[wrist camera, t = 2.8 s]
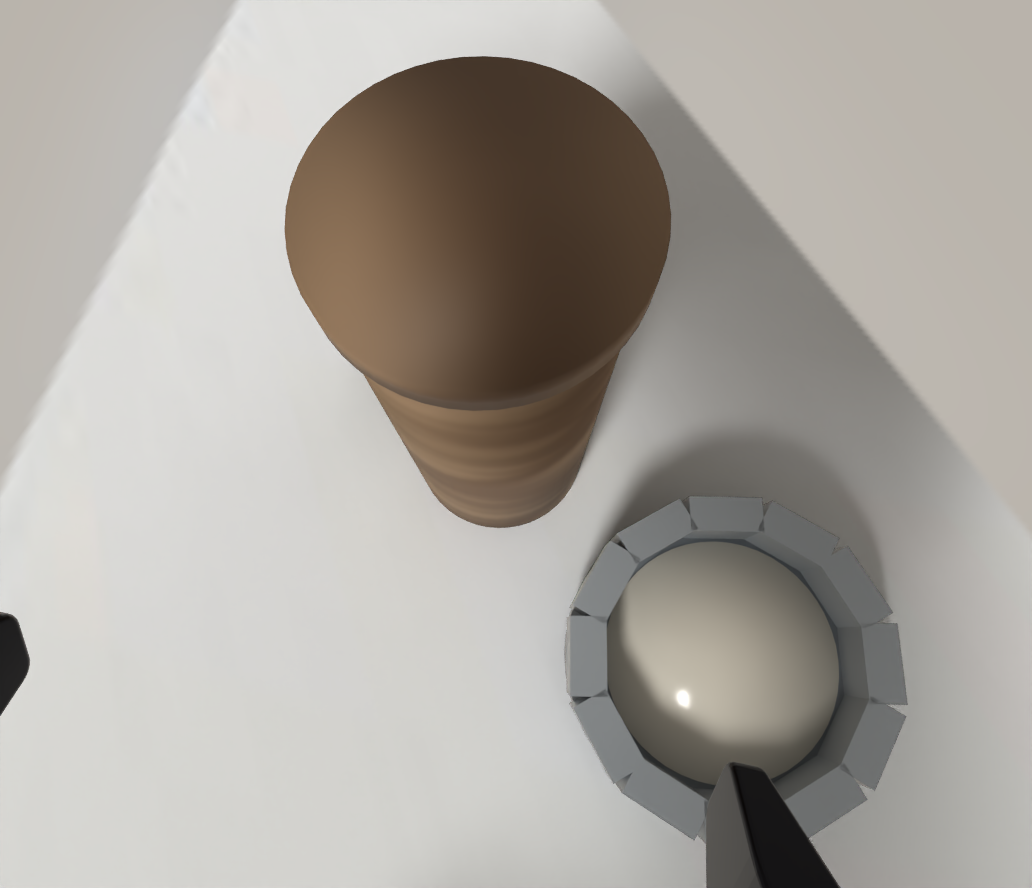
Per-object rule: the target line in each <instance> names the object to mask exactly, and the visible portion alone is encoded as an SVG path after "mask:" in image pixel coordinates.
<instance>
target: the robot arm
mask: <svg viewBox="0 0 1032 888" xmlns="http://www.w3.org/2000/svg"><path fill="white" fill-rule="evenodd" d="M29 666H30V658H29V654H28V651H27V648H26V645H25V641H24V638H23V635H22V632H21V628H20V625H19V622H18V620H17V619H16V618H15V617H14V616H13V615H11V614H8V613H3V612H0V716H1V714H2V713H3V711H4V710H5V708H6V706H7V705H8V703H9V702H10V700H11V699H12V697H13V696H14V694H15V693H16V691H17V690H18V688H19V687H20V685H21V684H22V682H23V681H24V679H25V677H26V675H27V673H28V670H29ZM706 879H707V888H840V886H839V885H838V883H837V882H836V880H835V879H834V877H833V876H832V874H831V872H830V871H829V869H828V868H827V866H826V865H825V863H824V862H823V860H822V858H821V857H820V855H819V854H818V852H817V851H816V849H815V848H814V846H813V844H812V843H811V841H810V840H809V838H808V837H807V835H806V834H805V832H804V830H803V829H802V827H801V826H800V824H799V823H798V821H797V820H796V818H795V816H794V815H793V813H792V812H791V810H790V809H789V807H788V806H787V804H786V802H785V801H784V799H783V798H782V796H781V795H780V793H779V792H778V790H777V788H776V787H775V785H774V784H773V782H772V781H771V779H770V778H769V776H768V775H767V773H766V772H765V771H764V770H763V769H761V768H759V767H757V766H752V765H748V764H743V763H738V762H729V763H727V764H726V765H725V767H724V768H723V770H722V773H721V775H720V777H719V779H718V782H717V784H716V786H715V788H714V791H713V793H712V795H711V798H710V800H709V803H708V807H707V813H706Z"/></svg>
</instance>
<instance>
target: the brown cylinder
mask: <svg viewBox="0 0 1032 888" xmlns="http://www.w3.org/2000/svg"><path fill="white" fill-rule="evenodd" d="M670 230H671V211H670V202H669V194H668V190H667V186H666V183H665V179H664V175H663V172H662V170H661V167H660V165H659V163H658V160H657V158H656V156H655V154H654V152H653V150H652V148H651V147H650V145H649V143H648V142H647V140H646V139H645V137H644V135H643V134H642V132H641V131H640V130H639V129H638V128H637V126H636V125H635V124H634V123H633V122H632V120H631V119H630V118H629V117H628V116H627V115H626V114H625V113H624V112H623V111H622V110H621V109H620V108H619V107H618V106H617V105H616V104H614V103H613V102H612V101H611V100H610V99H608V98H607V97H605V96H604V95H603V94H601V93H600V92H599V91H597V90H596V89H594V88H593V87H591V86H589V85H587V84H586V83H584V82H582V81H580V80H578V79H577V78H575V77H573V76H570V75H568V74H565V73H563V72H561V71H558V70H556V69H553V68H550V67H547V66H543V65H540V64H536V63H533V62H528V61H523V60H517V59H512V58H502V57H488V56H480V57H459V58H452V59H445V60H438V61H434V62H430V63H426V64H423V65H419V66H415V67H412V68H410V69H407V70H404V71H402V72H399V73H396V74H394V75H392V76H390V77H388V78H386V79H384V80H382V81H380V82H378V83H376V84H374V85H372V86H371V87H369V88H367V89H366V90H364V91H363V92H361V93H360V94H358V95H357V96H355V97H354V98H353V99H351V100H350V101H349V102H348V103H347V104H345V105H344V106H343V107H342V108H341V109H339V110H338V111H337V112H336V113H335V114H334V115H333V116H332V117H331V118H330V120H329V121H328V122H327V123H326V124H325V125H324V126H323V127H322V128H321V129H320V131H319V132H318V134H317V135H316V136H315V138H314V139H313V141H312V142H311V143H310V145H309V146H308V148H307V150H306V152H305V154H304V155H303V157H302V159H301V161H300V163H299V165H298V167H297V170H296V173H295V175H294V178H293V181H292V183H291V186H290V191H289V196H288V200H287V205H286V215H285V239H286V250H287V255H288V259H289V263H290V267H291V271H292V274H293V277H294V279H295V282H296V284H297V286H298V289H299V291H300V294H301V296H302V297H303V299H304V301H305V302H306V304H307V305H308V307H309V309H310V310H311V312H312V314H313V315H314V317H315V318H316V320H317V322H318V323H319V325H320V326H321V328H322V330H323V331H324V333H325V334H326V336H327V337H328V339H329V340H330V341H331V343H332V344H333V345H334V346H335V347H336V349H337V350H338V351H339V352H340V353H341V355H342V356H343V357H344V358H345V359H347V360H348V361H349V362H350V363H351V364H352V365H353V366H354V367H355V368H356V369H358V370H359V371H360V372H361V373H363V374H364V376H365V378H366V379H367V381H368V383H369V385H370V386H371V388H372V390H373V391H374V393H375V395H376V397H377V398H378V400H379V402H380V403H381V405H382V407H383V409H384V410H385V412H386V414H387V415H388V417H389V419H390V421H391V422H392V424H393V426H394V427H395V429H396V431H397V433H398V434H399V436H400V438H401V439H402V441H403V443H404V445H405V446H406V448H407V450H408V451H409V453H410V455H411V457H412V458H413V460H414V462H415V463H416V465H417V467H418V469H419V470H420V472H421V474H422V475H423V477H424V479H425V481H426V482H427V484H428V486H429V487H430V489H431V491H432V492H433V494H434V495H435V496H436V498H437V499H438V500H439V501H440V503H442V504H443V505H444V506H445V507H446V508H447V509H448V510H449V511H451V512H452V513H454V514H455V515H456V516H458V517H460V518H462V519H464V520H466V521H468V522H471V523H474V524H477V525H481V526H485V527H494V528H506V527H514V526H520V525H523V524H526V523H529V522H532V521H534V520H536V519H538V518H540V517H542V516H543V515H545V514H546V513H548V512H549V511H551V510H552V509H553V508H554V507H555V506H557V505H558V504H559V502H560V501H561V500H562V499H563V498H564V497H565V496H566V494H567V493H568V491H569V490H570V488H571V486H572V484H573V482H574V480H575V478H576V475H577V472H578V469H579V467H580V464H581V461H582V458H583V455H584V452H585V449H586V446H587V444H588V441H589V438H590V435H591V432H592V429H593V426H594V423H595V421H596V418H597V415H598V412H599V409H600V406H601V403H602V400H603V398H604V395H605V392H606V389H607V386H608V383H609V380H610V377H611V375H612V372H613V369H614V366H615V363H616V360H617V357H618V355H619V352H620V350H621V348H622V347H623V346H624V345H625V344H626V343H627V341H628V340H629V339H630V337H631V336H632V334H633V333H634V332H635V330H636V329H637V327H638V326H639V324H640V322H641V320H642V318H643V316H644V315H645V313H646V311H647V309H648V307H649V304H650V302H651V299H652V297H653V294H654V291H655V289H656V286H657V284H658V281H659V278H660V275H661V273H662V270H663V267H664V264H665V261H666V257H667V252H668V246H669V241H670Z"/></svg>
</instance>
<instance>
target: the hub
mask: <svg viewBox="0 0 1032 888" xmlns="http://www.w3.org/2000/svg"><path fill="white" fill-rule="evenodd" d="M838 540H839V538H838V537H836V536H835V535H833V534H831V533H829V532H828V531H826V530H824V529H822V528H820V527H819V526H817V525H815V524H813V523H812V522H810V521H808V520H806V519H804V518H803V517H801V516H799V515H797V514H796V513H794V512H792V511H790V510H788V509H787V508H785V507H783V506H781V505H780V504H778V503H776V502H774V501H771V502H769V503H767V504H765V505H763V502H762V498H757V497H712V496H689V497H688V498H687V499H685V500H684V501H683V502H682V501H681V500H680V498H679V499H678V500H676V501H674V502H672V503H670V504H669V505H667V506H665V507H663V508H661V509H660V510H658V511H656V512H654V513H653V514H651V515H649V516H647V517H645V518H644V519H642V520H640V521H638V522H636V523H635V524H633V525H631V526H629V527H627V528H626V529H624V530H622V531H620V532H618V533H617V534H616V535H615V536H614V537H613V538H612V540H611V541H609V542H608V543H607V544H606V545H605V546H604V548H603V549H602V551H601V553H600V555H599V556H598V558H597V560H596V562H595V563H594V565H593V567H592V568H591V570H590V571H589V573H588V574H587V576H586V577H585V579H584V580H583V582H582V584H581V586H580V589H579V591H578V593H577V595H576V597H575V598H574V600H573V602H572V604H571V605H570V608H571V612H570V615H569V617H567V630H566V638H565V653H564V655H565V672H566V679H567V693H568V694H569V695H570V698H571V701H572V702H570V703H569V704H570V705H571V707H572V709H573V711H574V713H575V715H576V717H577V719H578V720H579V722H580V724H581V727H582V729H583V731H584V733H585V735H586V736H587V738H588V740H589V741H590V743H591V745H592V747H593V749H594V750H595V752H596V754H597V756H598V758H599V760H600V762H601V764H602V765H603V767H604V769H605V771H606V773H607V775H608V776H609V778H610V779H611V781H612V782H613V784H614V783H616V785H617V786H618V788H619V789H620V791H621V792H622V793H623V794H624V795H626V796H627V797H629V798H630V799H632V800H633V801H635V802H637V803H638V804H640V805H641V806H643V807H644V808H646V809H647V810H649V811H650V812H652V813H653V814H655V815H656V816H658V817H659V818H661V819H662V820H664V821H666V822H667V823H669V824H670V825H672V826H673V827H675V828H676V829H678V830H679V831H681V832H682V833H684V834H685V835H687V836H688V837H690V838H691V839H693V840H695V838H696V836H697V835H698V836H699V837H700V838H701V839H702V840H703V841H704V843H705V844H706V813H707V807H708V803H709V800H710V798H711V795H712V793H713V791H714V788H715V786H716V784H717V782H718V779H719V777H720V775H721V773H722V770H723V768H724V767H725V765H726V764H727V763H729V762H738V763H743V764H748V765H752V766H757V767H759V768H761V769H763V770H764V771H765V772H766V773H767V775H768V776H769V778H770V779H771V781H772V782H773V784H774V785H775V787H776V788H777V790H778V792H779V793H780V795H781V796H782V798H783V799H784V801H785V802H786V804H787V806H788V807H789V809H790V810H791V812H792V813H793V815H794V816H795V818H796V820H797V821H798V823H799V824H800V826H801V827H802V829H803V830H804V832H805V834H806V835H807V837H808V838H809V837H811V836H812V835H814V834H815V833H817V832H818V831H820V830H822V829H823V828H825V827H826V826H828V825H829V824H831V823H832V822H834V821H835V820H837V819H838V818H840V817H841V816H843V815H845V814H846V813H848V812H849V811H851V810H852V809H854V808H855V807H857V806H858V805H860V804H861V803H863V802H864V801H866V800H867V798H866V796H865V795H864V793H863V792H862V790H861V788H860V787H859V785H858V784H860V785H862V786H865V787H867V788H870V789H872V790H874V791H875V789H876V787H877V784H878V782H879V779H880V777H881V775H882V772H883V770H884V768H885V765H886V763H887V761H888V758H889V756H890V753H891V751H892V749H893V746H894V744H895V742H896V739H897V737H898V735H899V732H900V730H901V727H902V725H903V723H904V720H905V718H906V716H905V715H903V714H901V713H900V712H898V711H896V710H895V709H893V708H891V707H890V706H888V705H886V704H896V705H908V704H907V696H906V688H905V680H904V672H903V664H902V656H901V648H900V640H899V632H898V625H897V623H877V622H879V621H880V620H882V619H883V618H885V617H887V616H888V615H890V614H892V613H893V612H892V610H891V609H890V607H889V606H888V604H887V603H886V601H885V600H884V598H883V597H882V595H881V594H880V592H879V591H878V590H877V588H876V587H875V585H874V584H873V582H872V581H871V579H870V578H869V576H868V575H867V573H866V572H865V570H864V569H863V567H862V566H861V565H860V563H859V562H858V560H857V559H856V557H855V556H854V554H853V553H852V551H851V550H850V548H849V547H848V546H845V547H842V548H838V549H835V550H834V548H835V546H836V544H837V542H838ZM857 783H858V784H857Z"/></svg>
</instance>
